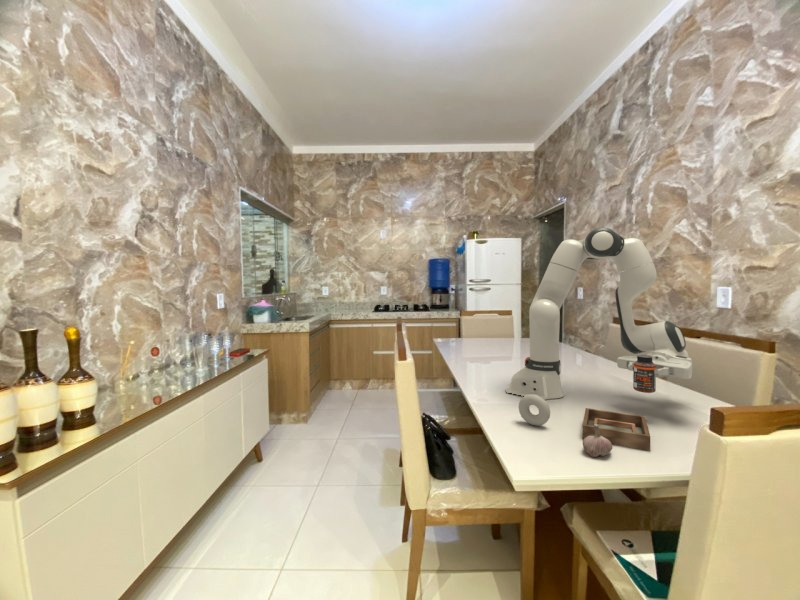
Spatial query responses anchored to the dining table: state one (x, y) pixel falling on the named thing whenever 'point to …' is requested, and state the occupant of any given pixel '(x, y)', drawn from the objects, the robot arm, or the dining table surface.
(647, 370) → the supplement bottle
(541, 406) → the donut
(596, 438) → the garlic bulb
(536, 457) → the dining table surface
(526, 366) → the robot arm
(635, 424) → the walled box
